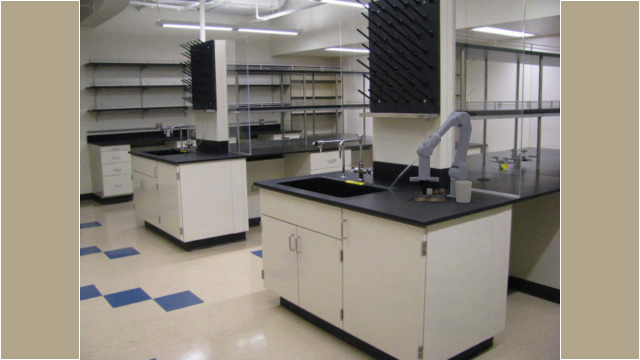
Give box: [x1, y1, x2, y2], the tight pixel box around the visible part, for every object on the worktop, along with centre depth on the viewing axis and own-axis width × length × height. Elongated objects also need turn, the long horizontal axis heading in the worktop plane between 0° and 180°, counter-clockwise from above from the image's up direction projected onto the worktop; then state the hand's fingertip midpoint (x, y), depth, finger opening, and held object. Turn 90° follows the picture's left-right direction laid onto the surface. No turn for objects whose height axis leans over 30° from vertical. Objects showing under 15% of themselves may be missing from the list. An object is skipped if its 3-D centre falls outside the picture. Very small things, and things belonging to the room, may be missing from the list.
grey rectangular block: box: [426, 187, 433, 195], centre depth 261 cm, size 2×6×3 cm, turn 169°
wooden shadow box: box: [414, 187, 446, 202], centre depth 261 cm, size 15×9×5 cm, turn 80°
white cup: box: [455, 180, 473, 204], centre depth 253 cm, size 8×8×10 cm
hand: (424, 195), depth 261 cm, fingers closed
